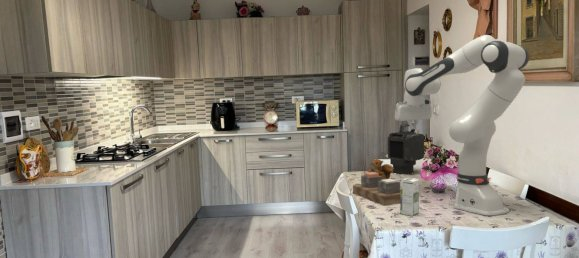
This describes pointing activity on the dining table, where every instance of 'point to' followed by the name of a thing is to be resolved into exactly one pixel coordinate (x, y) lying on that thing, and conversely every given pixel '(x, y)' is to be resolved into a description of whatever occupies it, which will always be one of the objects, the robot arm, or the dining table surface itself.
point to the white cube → (389, 181)
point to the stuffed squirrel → (381, 169)
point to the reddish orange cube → (371, 174)
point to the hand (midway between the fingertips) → (413, 129)
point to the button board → (378, 190)
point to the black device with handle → (405, 149)
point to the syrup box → (409, 196)
